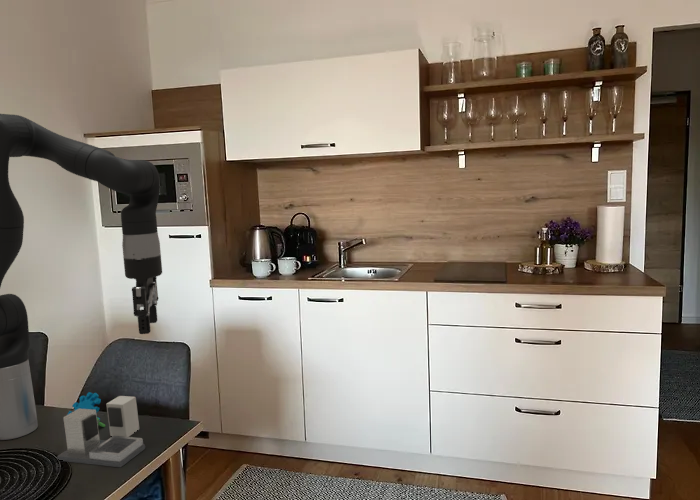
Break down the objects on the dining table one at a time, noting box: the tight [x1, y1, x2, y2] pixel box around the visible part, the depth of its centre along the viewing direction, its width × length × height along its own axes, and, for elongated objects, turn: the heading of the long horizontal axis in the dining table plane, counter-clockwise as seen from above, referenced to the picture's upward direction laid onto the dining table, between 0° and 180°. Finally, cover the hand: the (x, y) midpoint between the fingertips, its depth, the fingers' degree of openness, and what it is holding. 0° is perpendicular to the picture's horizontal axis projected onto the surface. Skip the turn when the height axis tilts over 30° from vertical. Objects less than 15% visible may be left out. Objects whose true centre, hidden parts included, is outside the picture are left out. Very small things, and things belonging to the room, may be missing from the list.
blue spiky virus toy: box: [66, 391, 106, 428], centre depth 135 cm, size 11×6×10 cm
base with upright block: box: [56, 409, 146, 468], centre depth 119 cm, size 16×8×9 cm, turn 74°
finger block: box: [105, 395, 140, 437], centre depth 129 cm, size 4×5×8 cm
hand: (148, 327), depth 121 cm, fingers open, 8 cm apart
